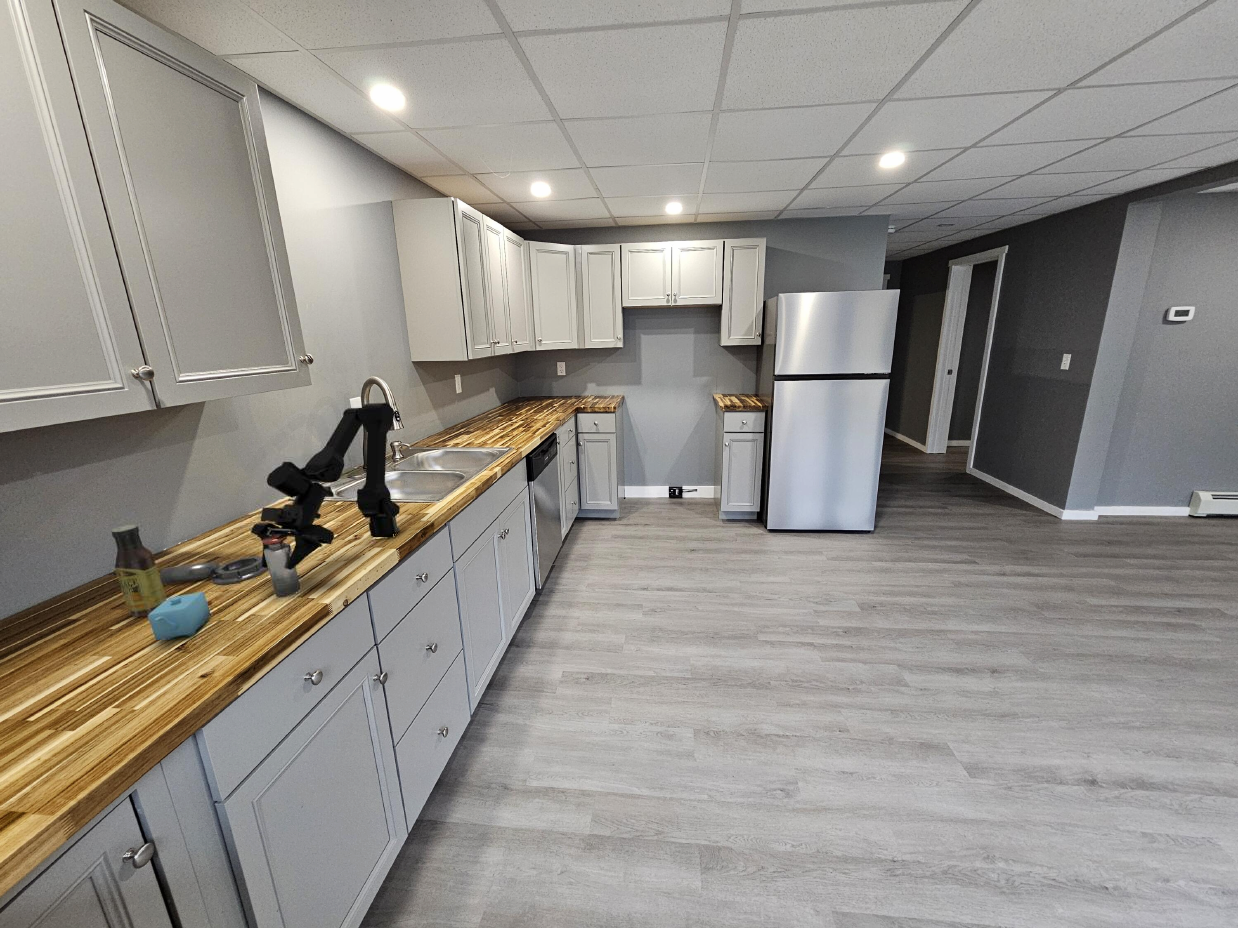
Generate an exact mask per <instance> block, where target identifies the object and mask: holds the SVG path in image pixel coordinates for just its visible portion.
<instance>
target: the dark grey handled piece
mask: <svg viewBox="0 0 1238 928" xmlns="http://www.w3.org/2000/svg"><path fill="white" fill-rule="evenodd" d="M266 572H269V569H268V567H267V568H263V567H262V556H260V555H254V556H246V557H240V558H237V559H234V560H231V561H228V562H225V563H224V564H221V565H220V564H219V563H218V561H209V562H200V563H194V564H185V565H177V566H170V567H163V568H162V569H161V570H160V571H159V575H160V579H161V582H162V585H170V584H177V583H178V584H179V583H185V582H193V581H199V580H207V579H211V582H212V584H214V585H216V586H226V585H233V584H237V583H242V582H245V581H246V582H247V581H249V580H252V579H254V578H257V577H259V576H261V575H263V574H265V573H266Z"/></svg>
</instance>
